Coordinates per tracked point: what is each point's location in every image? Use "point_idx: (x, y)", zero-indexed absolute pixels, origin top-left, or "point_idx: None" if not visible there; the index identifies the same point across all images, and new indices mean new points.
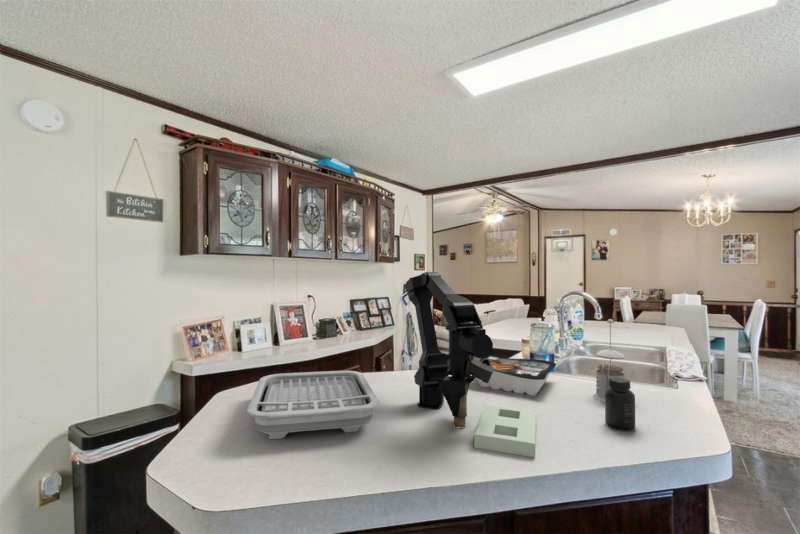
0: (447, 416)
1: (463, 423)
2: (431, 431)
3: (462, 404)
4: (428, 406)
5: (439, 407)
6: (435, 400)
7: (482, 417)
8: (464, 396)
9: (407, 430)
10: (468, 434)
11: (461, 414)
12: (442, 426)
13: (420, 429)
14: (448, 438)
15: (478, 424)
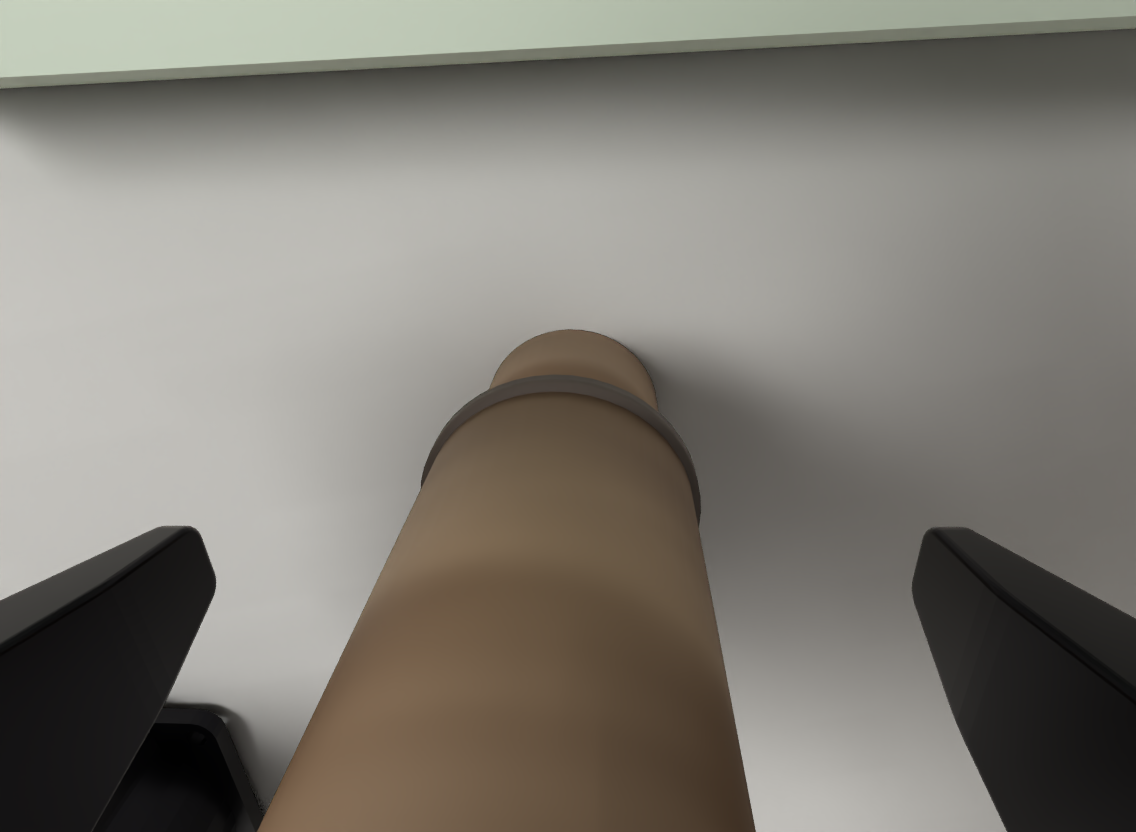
0: (344, 592)
1: (621, 370)
2: (855, 654)
3: (697, 615)
4: (243, 804)
5: (176, 714)
6: (135, 822)
7: (531, 6)
8: (657, 801)
9: (886, 824)
10: (835, 225)
11: (679, 479)
12: None
13: (830, 745)
14: (1031, 455)
15: (1028, 15)
